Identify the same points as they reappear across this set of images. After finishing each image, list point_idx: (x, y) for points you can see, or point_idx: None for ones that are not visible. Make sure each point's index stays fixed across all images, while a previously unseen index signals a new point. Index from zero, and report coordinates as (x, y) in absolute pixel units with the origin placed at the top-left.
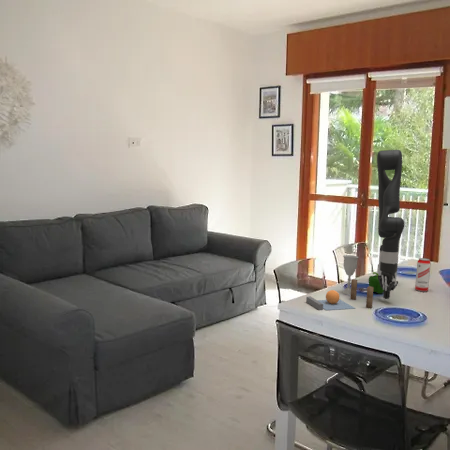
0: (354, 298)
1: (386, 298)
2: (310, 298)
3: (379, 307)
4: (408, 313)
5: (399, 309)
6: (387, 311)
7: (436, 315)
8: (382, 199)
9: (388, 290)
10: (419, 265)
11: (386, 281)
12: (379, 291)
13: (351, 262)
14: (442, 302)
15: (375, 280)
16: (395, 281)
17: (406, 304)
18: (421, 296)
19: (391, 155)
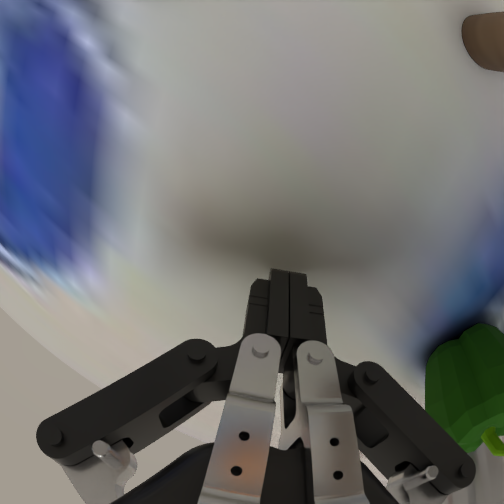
0: (470, 24)
1: (269, 280)
2: None
3: (132, 64)
4: (5, 203)
5: (64, 206)
6: (35, 79)
7: (10, 300)
8: None
9: (192, 340)
10: None
11: (212, 471)
12: (440, 355)
13: None
14: (181, 428)
15: (493, 405)
16: (59, 463)
17: (171, 331)
18: (278, 435)
19: None
